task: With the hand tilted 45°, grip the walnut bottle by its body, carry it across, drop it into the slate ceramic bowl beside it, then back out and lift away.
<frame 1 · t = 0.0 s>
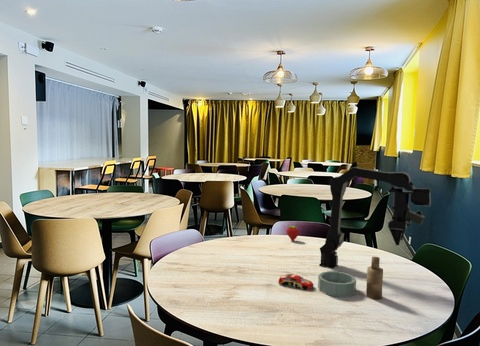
hand: (399, 242, 144), 15 cm above the table, tool pointing down, fingers open, 9 cm apart
race car: (295, 287, 136), on the table
strawberry: (292, 241, 201), on the table
bowl: (336, 289, 132), on the table
walnut bottle: (374, 296, 127), on the table
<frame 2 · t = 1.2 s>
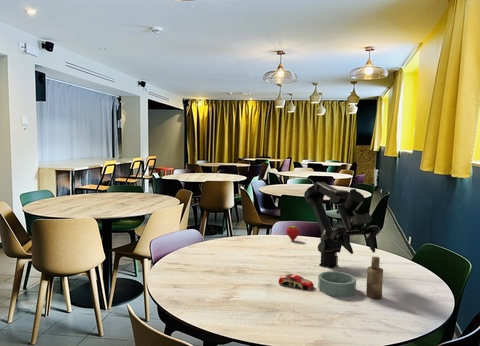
hand: (363, 252, 134), 13 cm above the table, tool tilted 45°, fingers open, 9 cm apart
nothing on the table moved.
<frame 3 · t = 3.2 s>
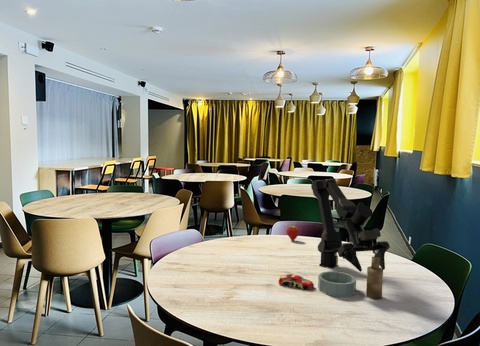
hand: (372, 270, 127), 9 cm above the table, tool tilted 45°, fingers open, 9 cm apart
nothing on the table moved.
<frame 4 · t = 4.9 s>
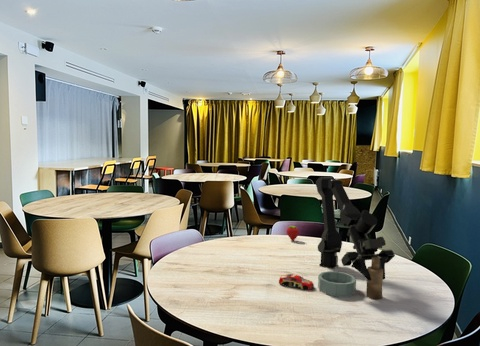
hand: (377, 279, 125), 7 cm above the table, tool tilted 45°, fingers closed on walnut bottle, 5 cm apart
walnut bottle: (374, 296, 127), on the table, touching gripper
everything else where it was.
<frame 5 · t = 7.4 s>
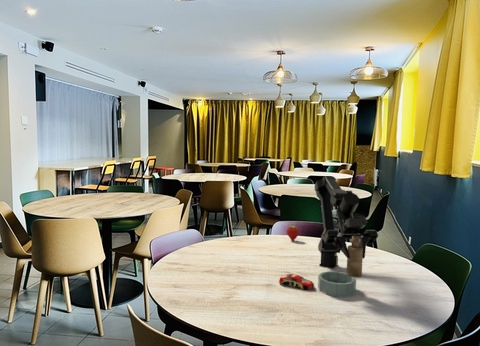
hand: (356, 257, 127), 13 cm above the table, tool tilted 45°, fingers closed on walnut bottle, 5 cm apart
walnut bottle: (354, 274, 129), point 7 cm above the table, touching gripper
everything else where it was.
when the fingers open (9 cm above the table, at t = 9.8 s): walnut bottle drops 2 cm, resting on bowl.
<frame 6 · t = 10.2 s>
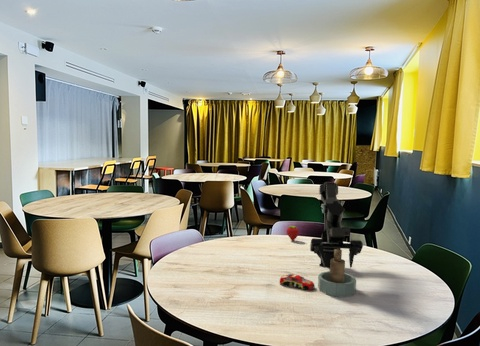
hand: (338, 266, 130), 9 cm above the table, tool tilted 45°, fingers open, 9 cm apart
walnut bottle: (336, 287, 132), point 1 cm above the table, touching bowl
everything else where it was.
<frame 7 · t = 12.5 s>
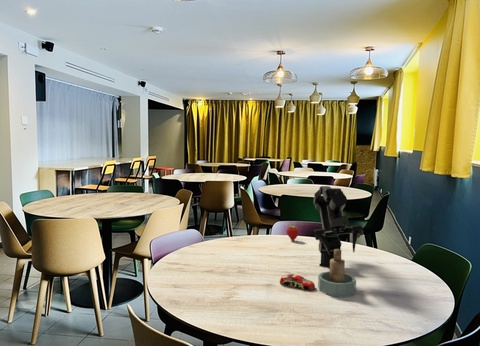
hand: (341, 253, 140), 11 cm above the table, tool tilted 35°, fingers open, 9 cm apart
nothing on the table moved.
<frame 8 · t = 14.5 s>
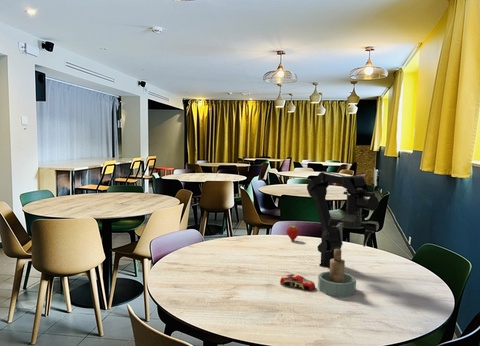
hand: (352, 244, 145), 13 cm above the table, tool pointing down, fingers open, 9 cm apart
nothing on the table moved.
at the end: walnut bottle inside the target area on the bowl (0.1 cm from its centre), point 0.8 cm above the bowl's base; the gripper is holding nothing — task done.
